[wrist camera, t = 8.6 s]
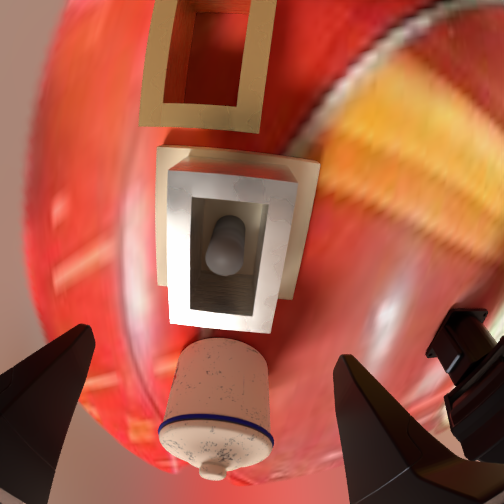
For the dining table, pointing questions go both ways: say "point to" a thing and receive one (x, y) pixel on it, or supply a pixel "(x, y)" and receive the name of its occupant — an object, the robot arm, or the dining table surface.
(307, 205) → the keeper
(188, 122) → the link
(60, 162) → the dining table surface
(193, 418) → the teacup with lid
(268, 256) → the link
